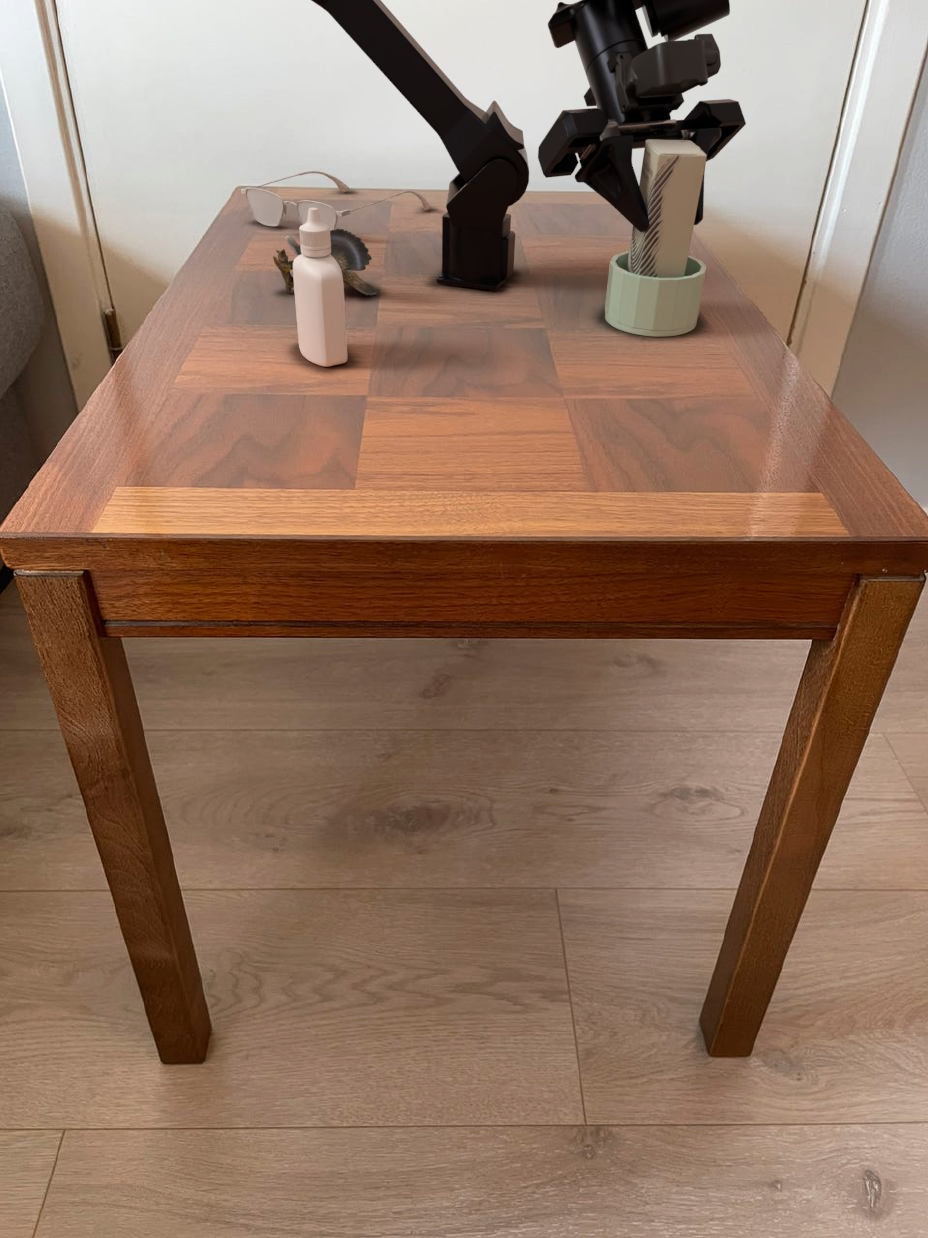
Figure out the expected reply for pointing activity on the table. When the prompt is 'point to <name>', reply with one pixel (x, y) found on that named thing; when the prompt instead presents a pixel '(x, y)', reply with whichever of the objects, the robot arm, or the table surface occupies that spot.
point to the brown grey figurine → (343, 250)
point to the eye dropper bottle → (319, 296)
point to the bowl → (653, 299)
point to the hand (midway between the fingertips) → (671, 225)
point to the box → (667, 207)
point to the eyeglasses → (301, 204)
